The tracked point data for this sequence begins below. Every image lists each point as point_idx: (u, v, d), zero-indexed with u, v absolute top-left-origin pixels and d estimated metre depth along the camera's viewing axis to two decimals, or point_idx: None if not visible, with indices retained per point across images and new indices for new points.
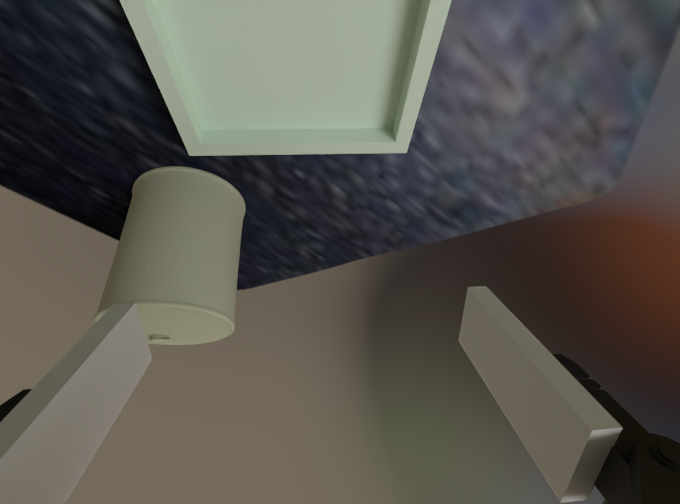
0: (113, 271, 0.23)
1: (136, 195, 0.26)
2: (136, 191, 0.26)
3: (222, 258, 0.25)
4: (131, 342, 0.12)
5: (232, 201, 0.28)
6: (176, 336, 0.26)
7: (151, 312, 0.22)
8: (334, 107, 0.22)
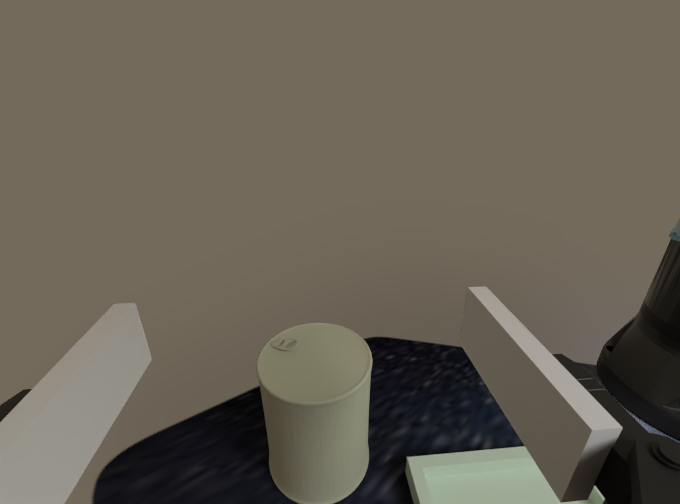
0: None
1: None
2: None
3: (346, 436, 0.25)
4: (131, 342, 0.12)
5: (343, 486, 0.27)
6: (285, 356, 0.27)
7: (353, 355, 0.27)
8: None
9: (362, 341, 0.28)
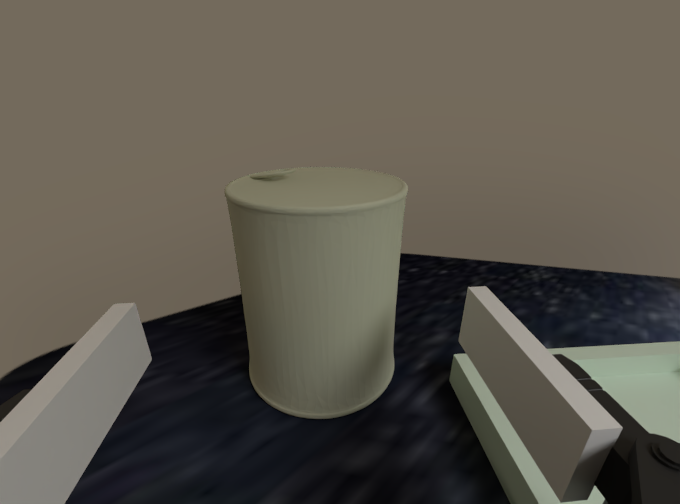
0: None
1: None
2: None
3: (368, 294, 0.16)
4: (131, 342, 0.12)
5: (359, 389, 0.18)
6: (271, 183, 0.17)
7: (377, 183, 0.17)
8: None
9: (389, 175, 0.19)
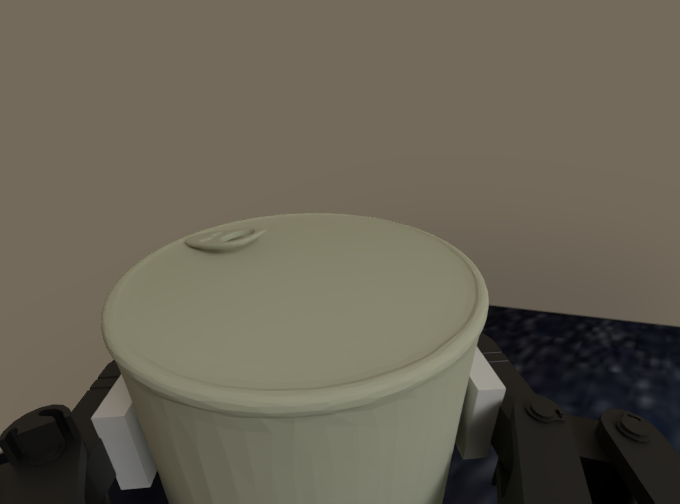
0: None
1: None
2: None
3: None
4: None
5: None
6: (216, 264, 0.09)
7: (418, 262, 0.09)
8: None
9: (433, 238, 0.11)
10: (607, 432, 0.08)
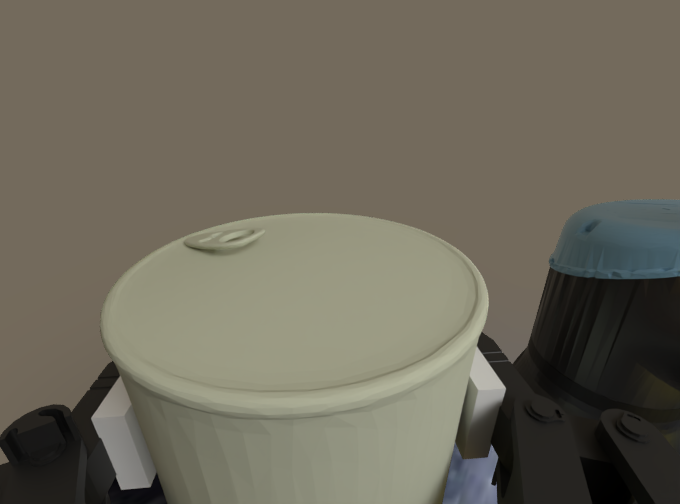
0: None
1: None
2: None
3: None
4: None
5: None
6: (215, 264, 0.09)
7: (418, 263, 0.09)
8: None
9: (433, 238, 0.11)
10: (607, 432, 0.08)
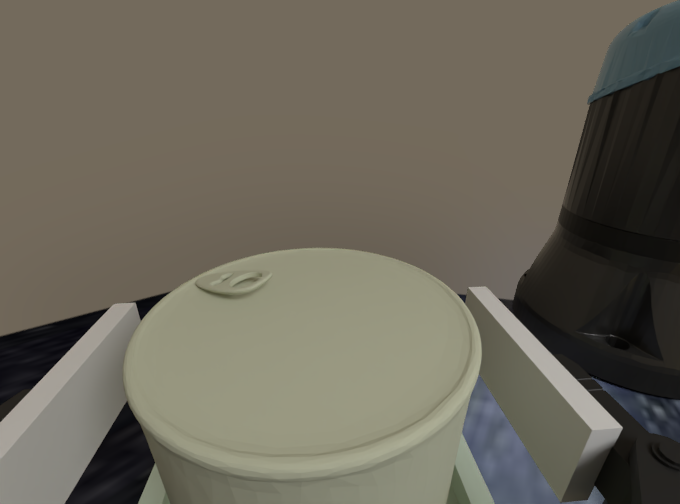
0: None
1: None
2: None
3: None
4: None
5: None
6: (226, 309, 0.10)
7: (416, 307, 0.10)
8: None
9: (432, 279, 0.11)
10: None
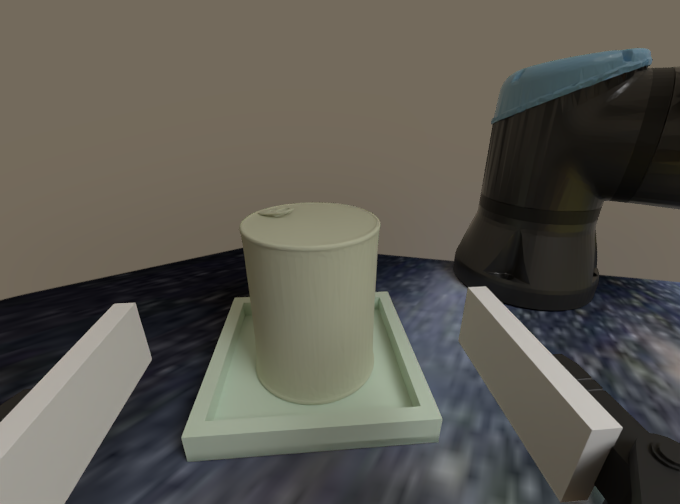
0: None
1: None
2: None
3: (349, 307, 0.20)
4: (131, 342, 0.12)
5: (343, 381, 0.23)
6: (274, 220, 0.22)
7: (357, 220, 0.22)
8: (247, 384, 0.24)
9: (368, 212, 0.24)
10: None
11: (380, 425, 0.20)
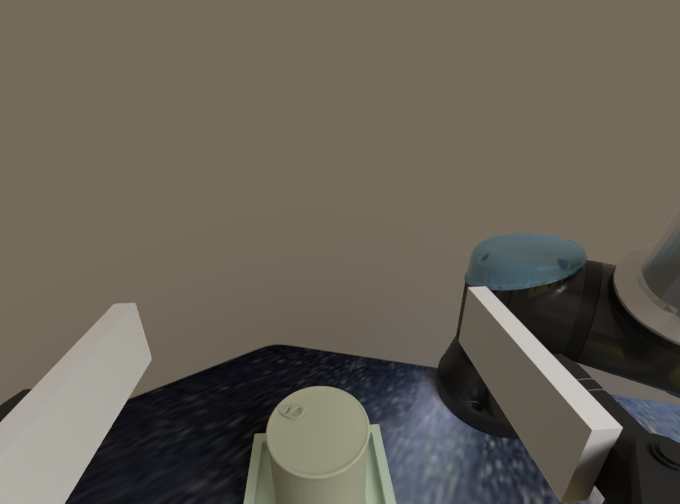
0: None
1: None
2: None
3: (346, 500, 0.28)
4: (131, 342, 0.12)
5: None
6: (291, 424, 0.30)
7: (353, 423, 0.30)
8: None
9: (361, 408, 0.31)
10: None
11: None
